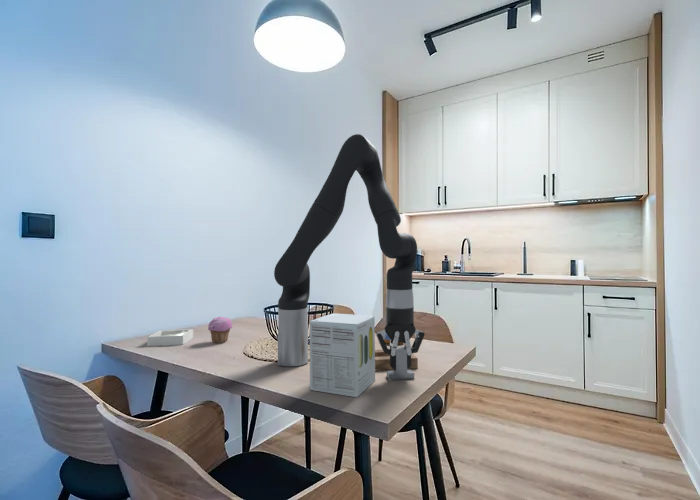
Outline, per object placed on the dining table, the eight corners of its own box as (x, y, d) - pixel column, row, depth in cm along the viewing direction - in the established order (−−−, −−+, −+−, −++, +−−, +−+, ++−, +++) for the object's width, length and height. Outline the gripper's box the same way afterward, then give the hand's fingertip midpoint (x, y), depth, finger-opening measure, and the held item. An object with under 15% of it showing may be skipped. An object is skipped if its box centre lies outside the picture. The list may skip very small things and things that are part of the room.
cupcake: (215, 339, 148) (215, 314, 149) (235, 339, 147) (235, 315, 147) (204, 344, 140) (204, 318, 140) (225, 345, 138) (225, 318, 139)
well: (350, 371, 106) (350, 360, 106) (347, 360, 117) (346, 350, 117) (417, 368, 108) (417, 357, 108) (407, 357, 119) (407, 348, 119)
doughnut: (407, 345, 135) (406, 332, 135) (380, 345, 137) (379, 333, 137) (408, 341, 144) (407, 329, 145) (383, 341, 146) (382, 330, 147)
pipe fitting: (159, 345, 143) (172, 344, 140) (158, 335, 143) (171, 334, 140) (175, 340, 150) (188, 340, 148) (174, 331, 150) (187, 330, 148)
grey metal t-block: (389, 379, 98) (388, 350, 98) (386, 376, 101) (386, 347, 101) (414, 378, 99) (414, 349, 99) (411, 375, 102) (410, 346, 102)
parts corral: (147, 346, 139) (147, 336, 139) (160, 338, 150) (160, 330, 151) (183, 344, 140) (183, 335, 140) (193, 337, 152) (193, 329, 152)
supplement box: (357, 398, 86) (356, 324, 86) (308, 390, 91) (308, 320, 91) (376, 380, 98) (375, 315, 98) (332, 374, 103) (331, 312, 103)
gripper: (377, 308, 95) (377, 374, 95) (428, 306, 97) (429, 371, 97) (372, 304, 103) (372, 365, 103) (420, 303, 104) (421, 363, 104)
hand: (400, 368), depth 100 cm, fingers closed on grey metal t-block, 3 cm apart
